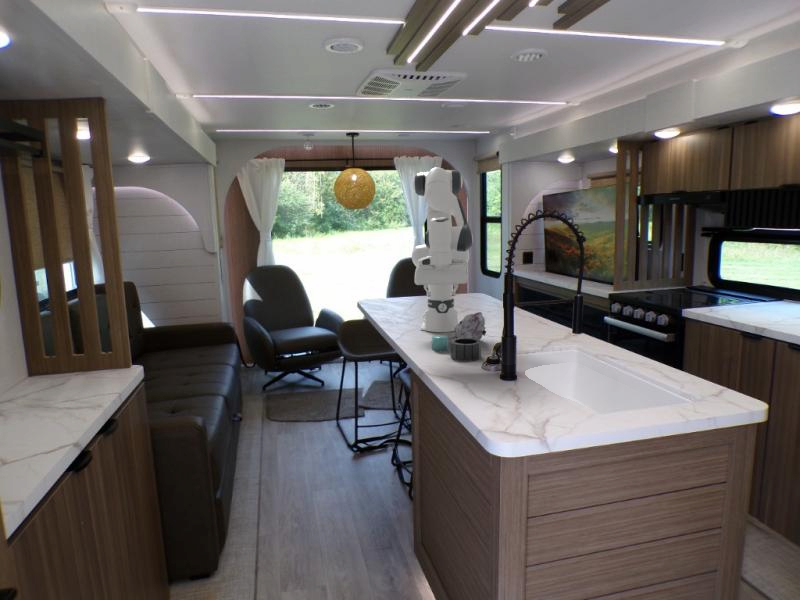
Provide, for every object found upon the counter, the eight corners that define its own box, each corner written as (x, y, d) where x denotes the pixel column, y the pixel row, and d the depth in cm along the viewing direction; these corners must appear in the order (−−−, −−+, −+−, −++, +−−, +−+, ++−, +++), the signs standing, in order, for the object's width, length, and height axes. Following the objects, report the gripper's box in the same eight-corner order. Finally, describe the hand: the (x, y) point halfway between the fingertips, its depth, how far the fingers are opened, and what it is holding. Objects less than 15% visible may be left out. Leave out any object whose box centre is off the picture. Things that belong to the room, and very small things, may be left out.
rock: (479, 354, 210) (495, 319, 209) (456, 345, 209) (472, 309, 208) (467, 342, 232) (481, 310, 231) (446, 334, 231) (460, 302, 230)
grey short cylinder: (448, 353, 202) (448, 338, 201) (477, 353, 203) (477, 337, 202) (453, 361, 191) (452, 345, 190) (483, 360, 192) (483, 344, 191)
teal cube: (431, 347, 212) (431, 335, 212) (446, 347, 213) (446, 335, 212) (432, 351, 206) (432, 338, 206) (448, 351, 207) (448, 338, 206)
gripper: (466, 259, 208) (466, 294, 210) (413, 260, 207) (414, 296, 209) (469, 259, 202) (469, 296, 203) (414, 261, 201) (415, 297, 202)
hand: (441, 296), depth 206 cm, fingers open, 8 cm apart
